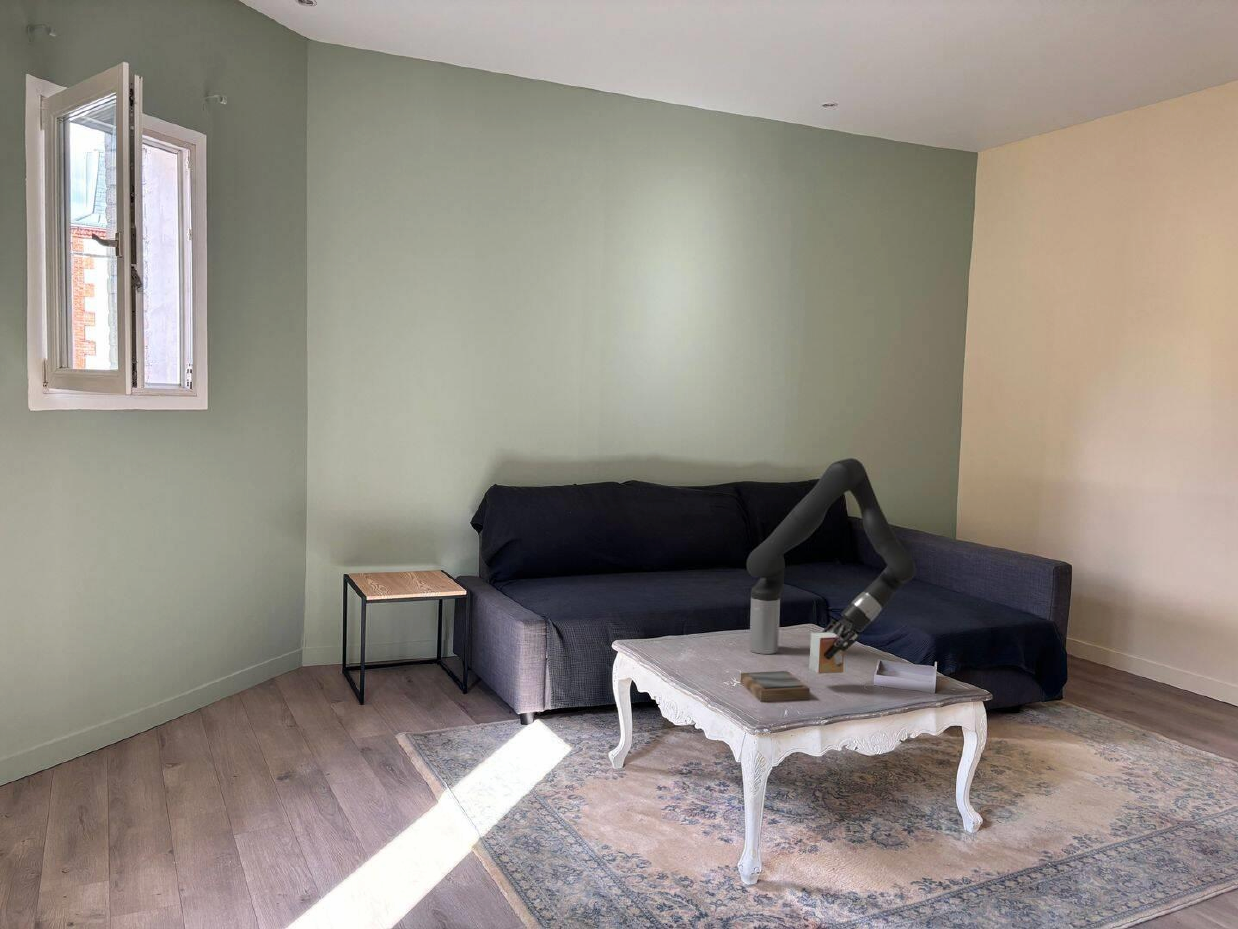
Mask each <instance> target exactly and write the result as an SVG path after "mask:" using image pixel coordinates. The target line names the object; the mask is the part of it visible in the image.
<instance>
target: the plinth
mask: <svg viewBox="0 0 1238 929" xmlns="http://www.w3.org/2000/svg"><path fill="white" fill-rule="evenodd" d="M740 684H741V685H742V686H743V687H744V688H745V689H746V690H747V691H749V693H750V694H752V695H753V696H754V697H755V698H756V699H757V700H758V701H760V702H762V703H763V702H765V703H766V702H780V701H781V702H782V700H783V701H796V700H797V701H799V700H810V689H811V688H810V687H809V686H808V685H806V684H805V683H804V682H802V681H801V680H800V679H799V678H797V677H796V676H794V675H793V674H792V673H791V672H789V671H788V670H776V671H775V670H774V671H757V672H756V671H755V672H740ZM795 699H796V700H795Z"/></svg>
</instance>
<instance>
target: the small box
mask: <svg viewBox="0 0 1238 929" xmlns="http://www.w3.org/2000/svg"><path fill="white" fill-rule="evenodd" d="M841 638H842V639H844V638H843V637H841ZM835 641H836V634H834V633H833V632H832V633H829V632H828V631H827V632H826V633H822V632H811V633H810V650H809V651H810V652H809V663H808V664H809V665H808V666H809V669H810V670H811V671H813V672H814V673H816V674H817V675H820V674H821V675H822V674H842V673H844V660H845V658H844V657H845V651H842V650H841V651H838V652H837V653H836V654H835V655H834V656H833V657H832V658H831V659H830V660H828V659H827V658H826V657H825V656H824V653H825V652H826V651H827V650H828V649H829V648H830V647H831V646H832V645H833V644H834V642H835ZM833 646H834V645H833Z"/></svg>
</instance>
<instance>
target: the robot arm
mask: <svg viewBox="0 0 1238 929" xmlns="http://www.w3.org/2000/svg"><path fill="white" fill-rule="evenodd" d="M847 492H850V493H851V494H852V496H853V497H854V499H855V500H856V503H857V505H858V508H859V510H860V514H861V515H860V516H861V520H862V525H863V529H864V531H865V534H866V536H867V538H868V539H869V542H870V543H871V545H872V547H873V549H874V551H876V553H877V554H878V555H879V556H881V557H882V559H883V561H884V562H885V564H886V565H887V566H886V567H885V568H884V569H883V571H882V572H881V573H880V574H879V575H878V577H877V578H876V579H875V580H874V581H872V582H871V583H870V584H869V585H868V586H867V587H865V589H864V590H863V591H862V592H861V593H860V594H859V595H858V596H856V597H855V598H854V600H852V601H851V603H850V604H848V606H846V608H844V610H843V611H842V612H841V614H840V615H841V617H842V619H840V620H838V621H836V620H835V619H831V621H830V622H829V623H828V624H827V626H825V628H824V629H823V630H822V632H821V633H826V632H829V633H832V632H833V633H834V634H836V641H835V642H834V644H833V645H834V646H833V645H832V646H831V647H830V648H829V649H828V650H827V651H826V652H825V653H824V656H825V657H826V658H827V659H828V660H830V659H831V658H832V657H833V656H834V655H835V654H836V653H837V652H838V651H841V650H842V651H844V652H846V650H848V649H849V648H850V647H852V645H853V644H855V643H856V642H857V641H858V640H859V639H860V636H859V635H858V634H857V633H856V632H859V633H862V632H863V631H864V630H865V629H866V628H867V627H868V626H869V625H870V624H871V622H873V621H874V619H876V617H877V616H878V615H879V614H880V612H881V611H882V609H884V608H885V606H886V605H888V603H890V602H891V600H892V599H893V598H894V595H895V594H896V593H897V592H898V591H899V590H900V589H901V588H902V587H904V585H905V584H906V583H907V582H909V581H912V579H913V578H914V577H915V575H916V570H917V569H916V566H915V562H914V561H913V559H912V557H911V555H909V552H908V551H907V550H906V549H905V548H904V546H903V545H902V544H901V543H900V541H899V540H898V537H897V536H896V533H895V532H894V530H893V528H892V527H891V525H890V523H889V522H888V519H887V518H886V516H885V514H884V512H883V510H882V508H881V505H880V503H879V501H878V499H877V496H876V493H875V492H874V488H873V486H872V484H871V481H870V478H869V476H868V473H867V470H866V468H865V466H864V465H863V463H862V462H861V461H859V460H858V459H856V458H850V457H849V458H846V459H841V460H838V461H834V462H833V463H831V464H830V465H829V466H828V467H827V468H826V470H825V472H824V473H823V474H822V476H821V477H820V478H819V480H818V481H817V483H816V484H815V486H814V487H813V488H812V489H811V490H810V491H809V492H808V493H807V494H806V495H805V496H804V497H803V498H802V499H801V500H800V502H798V503H797V505H795V506H794V507H793V508H792V510H791V511H790V512H789V513H788V514H787V515H786V517H785V518H784V519H783V520H782V521H781V522H780V524H778V525H777V527H776V528H775V529H774V530H773V531H772V532H771V533H770V535H769V536H768V537H767V538H766V539H765V540H763V541H762V542H761V543H760V544H759V545H758V546H757V547H755V548H754V549H753V550H752V551H750V554H748V558H747V559H746V569H747V572H748V573H749V575H750V576H751V577H754V578H757V579H759V580H758V582H757V583H756V584H755V585H754V586H753V587H752V588H751V590H750V617H749V618H750V619H749V620H750V623H749V625H750V626H749V651H750V652H753V653H756V654H763V655H768V654H769V655H771V654H776V653H778V652H779V642H780V641H779V639H780V617H781V616H780V610H781V593H782V591H783V588H784V580H785V566H786V564H785V563H786V562H785V557H784V554H786V553H787V552H788V551H790V550H792V549H793V548H795V547H796V546H799V545H800V544H801V543H804V541H806V540H807V539H808V538H809V537H811V535H812V534H813V533H814V532H815V531H817V529H818V528H819V527H820V525H821V524H822V523H823V521H824V519H825V516H826V514H827V511H828V509H829V508H830V506H831V505H832V504H833V503H834V502H835V501H837V499H839V498H840V497H841V496H842V495H844V494H845V493H847ZM841 637H843V638H844V639H842V638H841Z"/></svg>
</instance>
